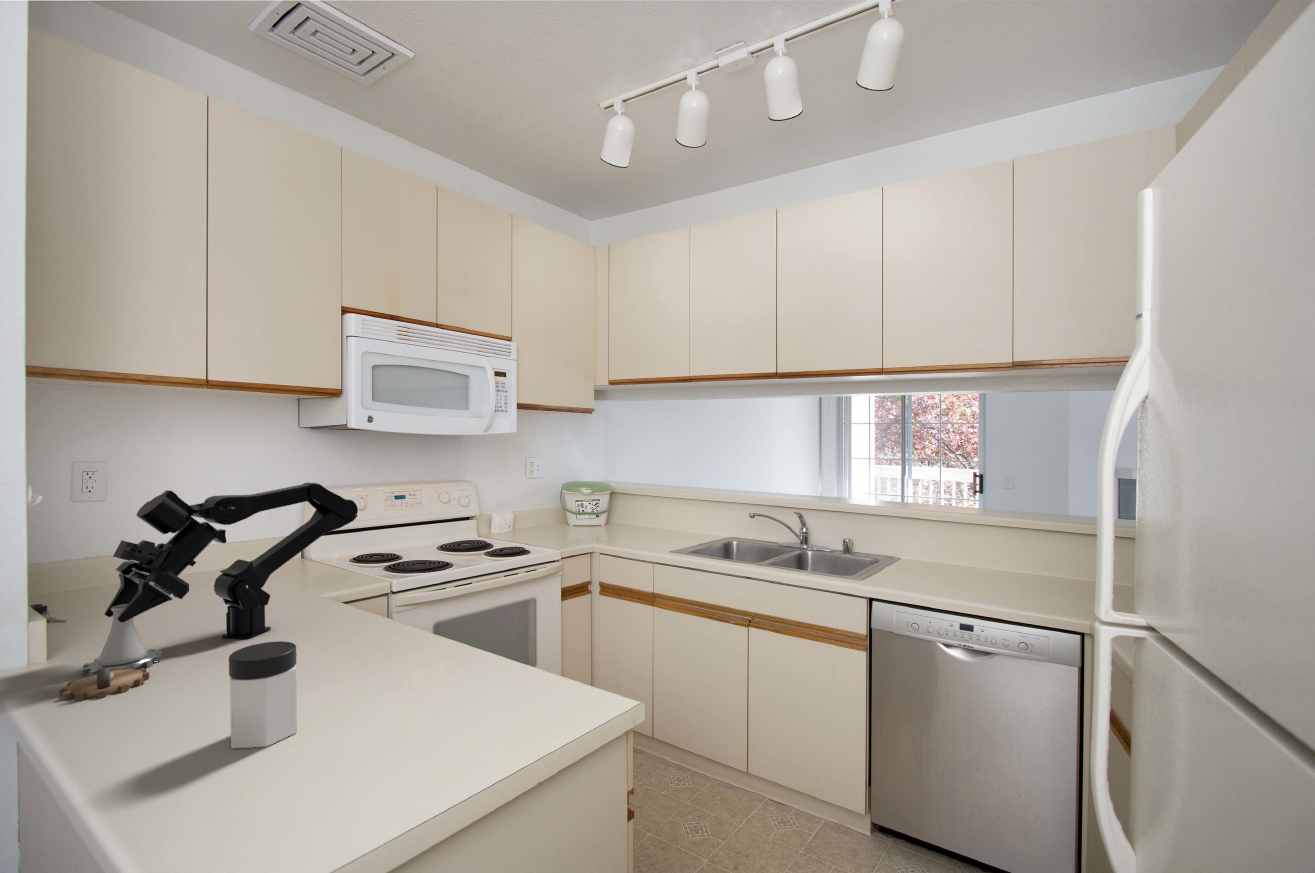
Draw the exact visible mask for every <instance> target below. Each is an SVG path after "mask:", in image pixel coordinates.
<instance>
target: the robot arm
mask: <svg viewBox="0 0 1315 873" xmlns="http://www.w3.org/2000/svg"><path fill="white" fill-rule="evenodd" d="M305 502H307V503H308V504H309V505H310V506H312V508H314V509H315V511H314V512H313V514H312V516H311V518H310V519H309V520H308V521H306V522H305V523H303V524H302V525H300V527H298V528H296V529H295V530H294V531H292V532H291V533H290V534H289V535H287V536H285V537H284V538H282V539H281V540H280V541H278V542H277V543H276V544H274V545H273V546H271V547H270V548H269V549H267V550H266V551H265V552H263V553H262V554H261V555H259V556H257V557H256V558H255V559H252V560H250V561H248V560H244V559H236V560H235V561H234V562H233V563H231V564H230V566H228V567H227V568H225V569H222V570H220V571H219V572H220V573H221V574H220V575H218V576H217V577H216V579H215V580H214V585H213V591H214V593H215V595H216V596H218V597H219V598H222V601H223V602H224V604H225V605H226V606H227V610H226V611H227V612H226V614H225V618H226V628H225V629H226V632H225V633H223V634H221V638H223V639H225V638H227V639H229V638H231V639H251V638H252V637H255V636H258V635H260V634H263V633H265V632H267V631H270V630H272V626H266V606H268V604H269V601H270V598H271V594H269V593H268V592H267V591H265V590H264V589H263V587H264V586H265V584H266V582H268V579H269V578H270V576H271V575H272V574H273V573H274V572H276V571H277V570H278V569H280V568H281V567H282V566H283V565H285V564H286V563H288V562H289V561H290V560H292V559H293V558H294V557H296V556H297V555H298V554H300V553H301V552H302V551H304V550H305V549H306V548H307V547H310V546H311V545H312V544H313V543H314V542H316V541H317V540H318V539H320V538H321V537H322V536H323V535H325V534H327V533H330V532H332V531H335V530H337V529H341V528H343V527H345V526H346V525H349V524H350V523H352V522H354V521H355V520H356V519H357V517H358V505H357V503H356V502H355V501H354V500H352V499H347V498H346V499H345V498H344V497H342V496H340V495H339V494H337V493H335V492H333V491H331V490H329V489H327V488H326V487H324V486H323V485H322V484H321V483H317V482H304V483H302V484H297V485H293V486H292V485H291V486H288V487H287V486H286V487H284V488H278V489H272V490H268V491H263V492H258V493H253V494H227V495H226V494H225V495H223V494H222V495H213V496H209V497H207V498H205V500H204V502H200V503H196V504H188V503H187V502H185V501H184V500H182V498H180V497H179V496H178V494H176V493H175V492H174V491H173V490H168V489H167V490H164V491H163V492H162V493H161V494H159V495H157V496H155V497H153V498H152V499H151V500H148V501H147V502H145V503H144V504H143V505H142V506H141V507H140V508H139V509H138V510H137V512H136V517H138V518H139V519H140V520H142V521H143V522H144V523H146V524H148V525H149V526H150V527H152V528H153V529H155V530H156V531H158V533H160V534H162V535H167V534H169V533H170V534H174V535H173V536H172V537H171V538H170V539H169V540H168V541H167V542H166V543H163V542H161V543H158V544H157V545H156V543H155V542H153V541H148V540H143V539H142V540H140V541H139V542H138V543H135V542H130V541H125V540H120V542H119V544H118V545H117V548H116V550H115V552H114V554H112V556H113V557H114V558H117V559H120V560H123V562H122V563H121V564H120V565H119V566H118V567H117V568H115V571H116V572H118V573H119V574H118V578H119V582H120V586H119V588H118V590H117V592H116V593H115V595H114V597H113V599H112V600H111V602H110V604H109V605H108V607H107V609H106V610H105V612H104V615H105V616H106V617H108V618H111V617H112V618H113V611H112V610H111V608H112V607H114V606H117V605H123V604H128V605H127V606H126V608H125V609H124V610H123V611H122V613H121V614H120V615H119V617H118V618H117V620H118V621H120V622H122V623H123V622H125V621H127V620H129V619H131V618H135V617H137V616H139V615H140V614H143V613H145V612H147V611H149V610H151V609H153V608H156V607H158V606H160V605H162V604H164V603H167V602H171V601H172V600H173V598H172V597H171V595H172V596H173V597H174V598H175V599H178V600H182V599H184V597H186V595H187V594H188V593H189V592H190V584H189V583H188V582H186V581H185V580H184V579H182V578H180V577H179V576H180V575H181V574H182V573H183V571H185V570H186V569H187V567H194V566H195V564H196V563H197V561H195V559H196V558H197V557H198V556H199V555H200V554H201V553H202V552H203V551H205V549H206V548H207V547H208V546H209V545H210V544H211V543H212V542H213V541H214V542H216V543H220V544H226V543H227V536H226V532H227V530H226V529H222V528H219V529H217V528H216V527H214V526H213V525H212V524H217V525H222V526H229V525H233V524H236V523H239V522H241V521H244V520H247V519H248V518H250V517H252V516H253V515H255V514H258V513H261V512H264V511H269V510H275V509H278V508H284V507H287V506H293V505H296V504H301V503H305ZM194 517H195V518H199V519H203V520H204V522H199V521H198V520H197V519H195V518H194ZM210 523H211V524H210ZM113 557H112V558H113ZM124 560H125V561H124Z"/></svg>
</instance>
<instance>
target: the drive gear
mask: <svg viewBox="0 0 1315 873" xmlns="http://www.w3.org/2000/svg"><path fill="white" fill-rule="evenodd" d="M144 679H147V680H150V671H147V668H141V669H137V670H134V669H133V668H126V669H124V670H117V671H114V670H111V671H110V668H109V667H106V668H101V669H98V670H97V675H93V676H89V675H88V676H87V677H84V678H81V679H79V680H71V681H68V682H67V684H66V686H63V687H60V688H59V696H60V697H61V699H62V700H64V701H67V700H69V699H75V702H79V701H80V702H81V701H83V702H84V701H85V700H86V699H91V698H92V699H93V698H97V699H102V698H106V697H107V696H110V695H114V694H116V693H121V694H122V693H126V692H129V691H130V689H131V688H134V687H136V686H135V685H141V684H142V683H144V684H145V680H144ZM142 685H143V684H142ZM142 685H141V686H142ZM133 686H134V687H133Z"/></svg>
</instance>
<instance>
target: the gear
mask: <svg viewBox="0 0 1315 873" xmlns="http://www.w3.org/2000/svg"><path fill="white" fill-rule="evenodd" d="M146 650H147V652H148V655H147V656H145V657H144V658H142V659H141V660H137V661H133V662H129V663H125V664H121V665H110V666H100V665H99V664H98V663H97V662H98V659H99V657H98V658H97V657H96V658H95V659H93V661H92V662H87V663H85V664H83V665H82V666H83V667H82V668H81V675H82V676H87V675H88V677H89V676H93V675H97V670H98V669H101V668H106V667H109V668H110V671H111V670H114V671H117V670H124V669H126V668H133V669H134V670H136V669H137V670H139V669H138V668H141V669H142V667H148V668H150V667H149V666H151V665H152V666H153V663H152V662H154V661H160V660H161V659H163V651H161V650H158V651H156V650H155V649H153V648H150V649H146ZM161 661H162V660H161ZM161 661H160V662H161ZM152 666H151V667H152Z"/></svg>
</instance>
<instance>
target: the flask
mask: <svg viewBox="0 0 1315 873" xmlns="http://www.w3.org/2000/svg"><path fill="white" fill-rule="evenodd" d="M127 605H128V604H123V605H117V606H114V607H112V608H111V610H112V611H113V616H112V621H111V622H112V623H111V628H110V631H109V633H108V636H107V639H106V641H105V644H104V646H103V648H102V650H101V653H100V655H99V657H98V658H99V659H98V662H97V663H98V664H99V665H100V666H110V665H121V664H125V663H129V662H133V661H137V660H141V659H142V658H144V657H145V656H147V655H148V652H147V650H148V649H147V648H146V647H145V644H144V643H143V641H142V639H141V637H140V635H139V633H138V629H137V628H136V626H135V624H134V619H133V618H134V617H133V618H131V619H129V620H127V621H125V622H123V623H122V622H120V621H118V620H117V618H118V617H119V615H120V614H121V613H122V611H123V610H124V609H125V608H126V606H127Z"/></svg>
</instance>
